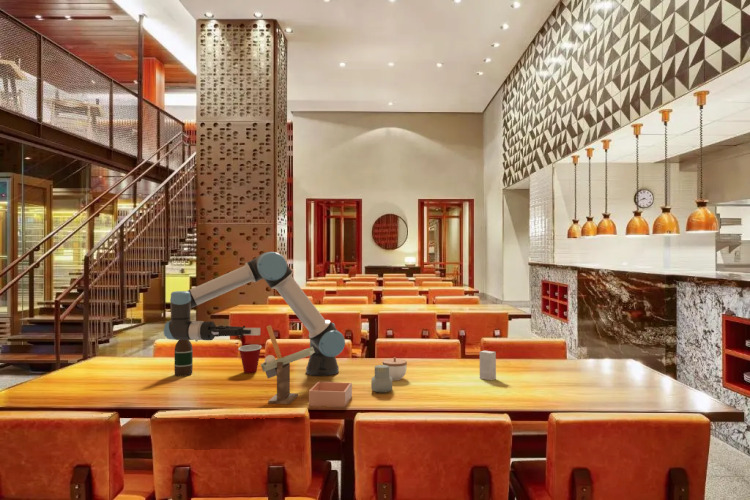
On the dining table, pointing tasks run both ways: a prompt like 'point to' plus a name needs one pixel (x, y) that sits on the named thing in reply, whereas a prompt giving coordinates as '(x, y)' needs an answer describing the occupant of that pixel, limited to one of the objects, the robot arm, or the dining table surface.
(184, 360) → the beer bottle
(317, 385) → the pink open box
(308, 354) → the lever
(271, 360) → the ball
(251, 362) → the plastic cup
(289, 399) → the stand
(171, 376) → the dining table surface
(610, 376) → the dining table surface
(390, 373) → the lidded jar
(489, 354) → the skincare box
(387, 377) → the air freshener
